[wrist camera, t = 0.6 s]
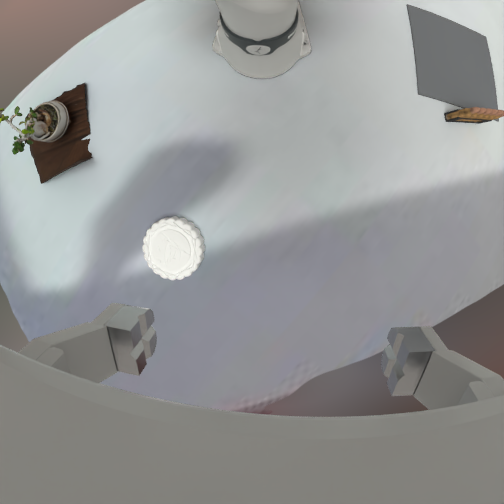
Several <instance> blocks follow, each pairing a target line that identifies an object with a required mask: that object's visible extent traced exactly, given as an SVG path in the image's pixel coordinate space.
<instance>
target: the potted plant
mask: <svg viewBox="0 0 504 504" xmlns="http://www.w3.org/2000/svg"><path fill="white" fill-rule="evenodd" d="M84 87H85V83H83V84H81V85H77V86H76V88H74V89H72V90H70V91H65V92H64V93H63V94H62V95H61V96H59V97H57V98H56V99H54V100H52V101H49V102H45V103H42V104H40V105H39V106H37V107H36V108H35V109H34V110H32V108H31V107H30V113H29V114H28V115H27V117H26V118H25V122H20V124H22V123H25V126H26V127H25V129H23V130H22V131H21V130H20V129H18V128H17V127H15V126H14V125H13V124H12V119H13V118H14V117H15V116H16V115H17V116H22V114H21V113H18V112H19V110H20V108H19V107H18V106H17V107H16V108H15V116H14V115H13V116H12V117H11V118H10V121H9V120H8V118H9V116H6V117H5V116H4V115H2V114H1V113H0V116H1V117H0V123H1V121H4V120H6V121H7V122H8V124H10V125H11V127H12V128H13V129H15V130H16V131H17V132H19V134H20V135H19V137H20V139H19V138H17V137H16V136H15V137H14V140H16V142H14V144H13V146H15V147H14V148H13V150H12V152H13V154H16V153H18V152H19V151H20V152H22V151H24V146H25V144H26V143H27V144H29V145H30V151H31V155H32V157H33V158H34V162H35V165H36V168H37V171H38V174H39V176H40V181H41V184H43V183H44V182H45V181H48V180H49V179H51V178H52V177H54V176H56V175H58V174H60V173H62V172H63V171H65V170H67V169H69V168H71V167H73V166H75V165H77V164H79V163H81V162H84V161H86V160H88V159H91V158H92V157H91V155H92V154H91V153H90V152H89V151H88V144H89V141H90V139H88V140H87V139H86V140H82V139H83V138H84V137H86V136H88V135H90V128H89V122H88V121H87V119H88V118H87V115H86V114H87V110H86V108H85V106H86V103H85V102H86V100H85V88H84ZM0 111H4V109H3V108H2V109H0ZM20 124H19V125H20ZM23 141H25V144H24V143H22V142H23Z"/></svg>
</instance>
